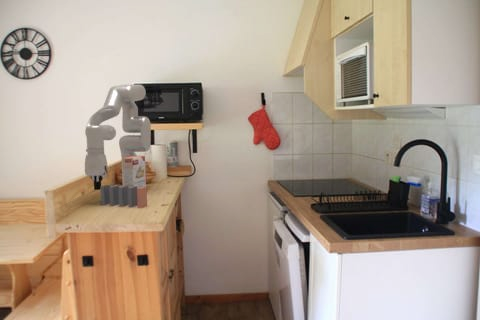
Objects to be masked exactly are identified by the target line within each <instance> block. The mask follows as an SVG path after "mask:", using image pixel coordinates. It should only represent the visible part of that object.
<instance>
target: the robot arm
mask: <svg viewBox="0 0 480 320" xmlns="http://www.w3.org/2000/svg"><path fill="white" fill-rule="evenodd" d="M146 92H147V91H146V88H145V86H144V85H143V84H120V85H113V86H111V87H110V88H109V90H108V92H107V95H106V98H105V101H104V103H103V106H102V107H101V108H99V109H98V110H97V111H96V112H95V113H93V114H92V115H91V116H90V117H89V119H88V121H87V124H86V126H85V130H84V131H85V133H84V134H85V136H86V149H85V152H86V153H87V154H86V155H85V159H84V173H85V175H86V176H87V178H90V179H91V181H92V182H93V190H95V191H99V190H100V186H102V181H103V179H105V178H108V171H109V170H108V169H109V168H108V160H107V156H106V154H105V142H104V141H112V140H114V139H115V137H116V135H117V131H116V128H115V127H114V126H113V125H111V124H110V125H109V124H102V123H103V122H105V121H108V120H111V119H114V118H116V117H118V116H119V114H120V112H121V109H122V119H121V121H122V123H121V124H122V125H121V127H122V130H123V132H124V133H127V134H128V135H123V136H120V138H119V141H118V146H119V150H120V156H121V173H122V174H121V175H122V177H121V178H122V186H124V166H123V158H127V157H133V156H138V155H137V153H142V152H143V153H146V152H148V151H149V150H150V149H151V141H152V140H151V136H152V135H151V134H152V133H151V131H152V130H151V129H152V124H151V120H150V119H149V117H147V116H141V115H139V111H138V110H139V107H138V105H137V104H136V103H135V102H138V101H142V100H144V99H145V97H146V95H147V93H146ZM130 134H131V135H130ZM136 134H137V135H136ZM139 134H140V135H139Z"/></svg>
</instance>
